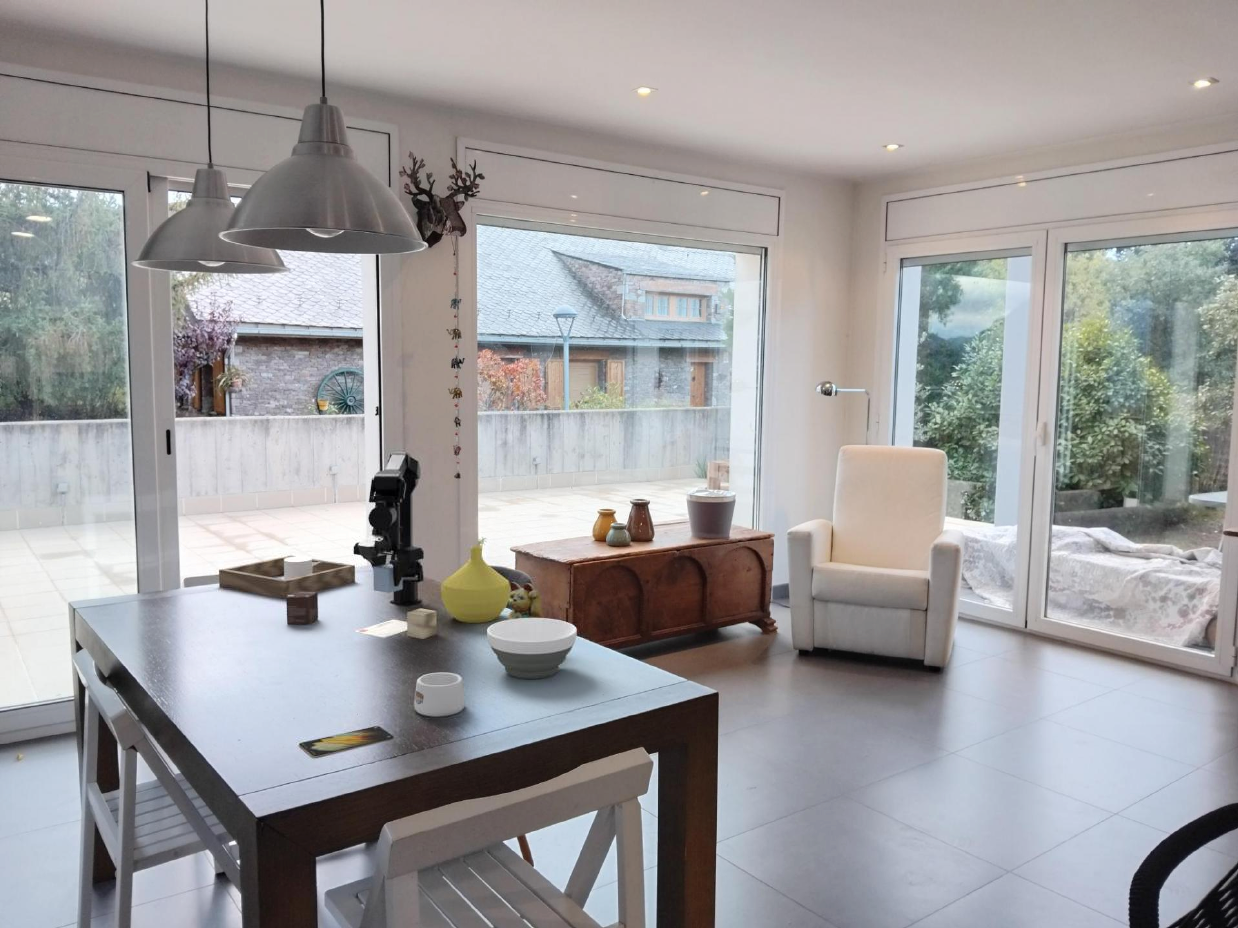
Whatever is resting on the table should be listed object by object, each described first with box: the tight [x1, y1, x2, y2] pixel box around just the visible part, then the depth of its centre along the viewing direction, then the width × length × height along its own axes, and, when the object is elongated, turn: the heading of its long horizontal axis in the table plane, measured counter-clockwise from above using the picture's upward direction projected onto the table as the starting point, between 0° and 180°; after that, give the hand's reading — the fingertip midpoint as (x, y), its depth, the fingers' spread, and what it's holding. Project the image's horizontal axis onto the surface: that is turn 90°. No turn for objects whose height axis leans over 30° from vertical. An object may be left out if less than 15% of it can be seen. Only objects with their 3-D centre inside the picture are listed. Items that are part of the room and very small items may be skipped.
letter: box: [353, 619, 407, 639], centre depth 241 cm, size 14×10×1 cm
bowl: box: [486, 617, 578, 680], centre depth 208 cm, size 20×20×10 cm
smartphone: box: [298, 725, 395, 759], centre depth 168 cm, size 7×1×15 cm
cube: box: [373, 562, 403, 594], centre depth 239 cm, size 5×5×6 cm
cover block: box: [406, 608, 437, 640], centre depth 235 cm, size 5×5×6 cm
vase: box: [440, 545, 512, 624], centre depth 251 cm, size 18×18×19 cm
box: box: [285, 591, 319, 625], centre depth 246 cm, size 6×6×7 cm
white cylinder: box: [283, 555, 321, 580], centre depth 289 cm, size 20×19×8 cm
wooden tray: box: [218, 555, 356, 600], centre depth 288 cm, size 27×28×5 cm
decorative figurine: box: [506, 581, 543, 620], centre depth 230 cm, size 10×8×15 cm
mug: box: [413, 671, 466, 718], centre depth 185 cm, size 12×10×6 cm
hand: (388, 584), depth 240 cm, fingers closed on cube, 5 cm apart
